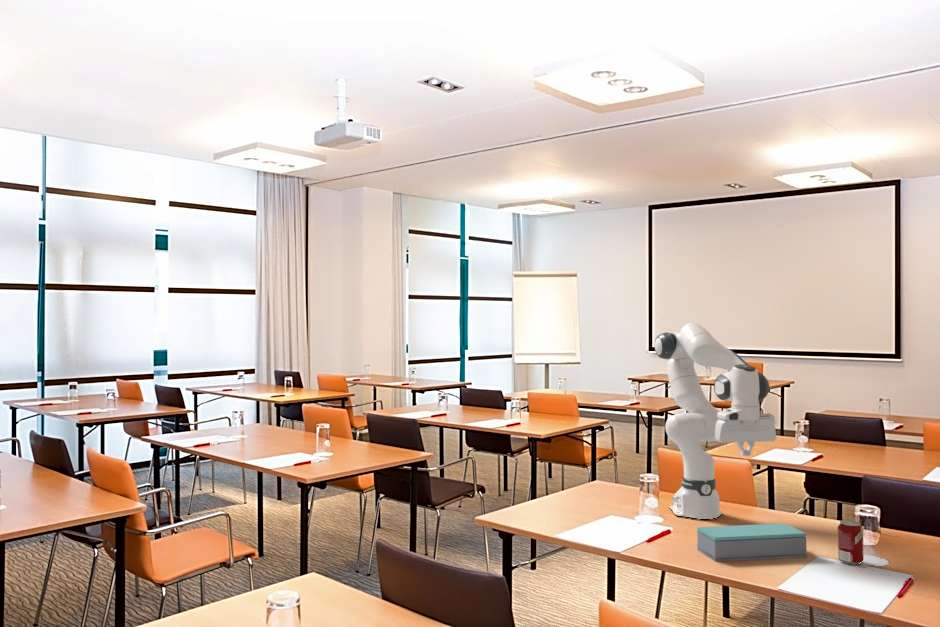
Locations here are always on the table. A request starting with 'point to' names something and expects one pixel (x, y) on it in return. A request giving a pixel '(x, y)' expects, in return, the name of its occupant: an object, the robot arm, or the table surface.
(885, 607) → the table surface
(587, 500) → the table surface
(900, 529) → the table surface
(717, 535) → the lid
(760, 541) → the grey open box
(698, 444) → the robot arm
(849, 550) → the soda can
